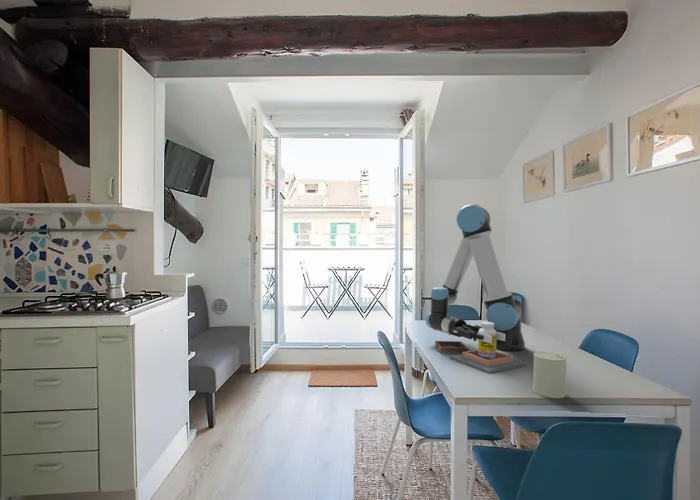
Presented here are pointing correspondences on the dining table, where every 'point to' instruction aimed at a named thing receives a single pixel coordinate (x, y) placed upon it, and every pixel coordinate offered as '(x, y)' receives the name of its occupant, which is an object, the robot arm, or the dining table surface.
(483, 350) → the supplement bottle
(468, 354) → the collar
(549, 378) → the can
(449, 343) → the collar
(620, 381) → the dining table surface
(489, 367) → the mat
